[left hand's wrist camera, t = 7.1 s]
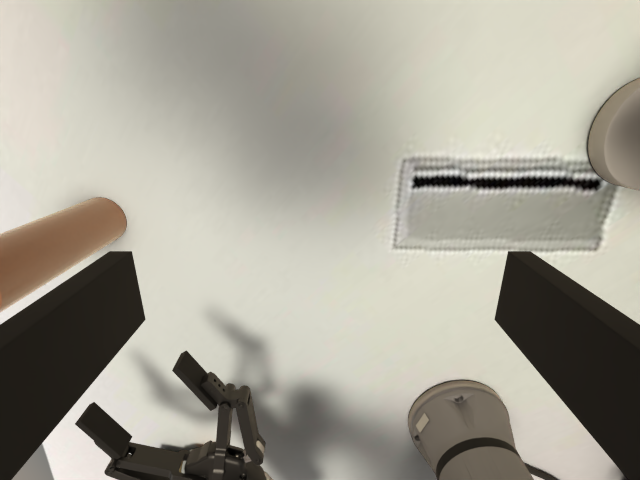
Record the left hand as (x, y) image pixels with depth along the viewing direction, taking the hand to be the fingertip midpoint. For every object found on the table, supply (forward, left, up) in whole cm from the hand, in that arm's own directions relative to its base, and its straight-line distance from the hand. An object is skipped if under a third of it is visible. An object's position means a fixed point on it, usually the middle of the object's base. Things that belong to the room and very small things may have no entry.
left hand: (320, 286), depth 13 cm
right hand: (+23, -21, -20) cm, 37 cm away
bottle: (+7, -28, -32) cm, 43 cm away
